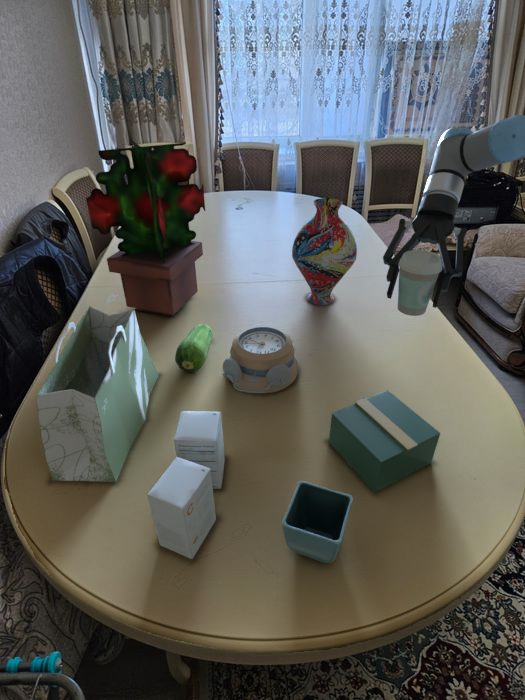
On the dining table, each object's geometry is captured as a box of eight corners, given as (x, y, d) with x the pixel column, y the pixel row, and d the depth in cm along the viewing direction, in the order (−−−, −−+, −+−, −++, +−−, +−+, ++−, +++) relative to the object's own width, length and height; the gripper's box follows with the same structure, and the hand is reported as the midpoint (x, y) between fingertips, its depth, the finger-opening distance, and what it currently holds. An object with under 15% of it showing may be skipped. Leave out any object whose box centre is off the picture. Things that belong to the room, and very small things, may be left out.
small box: (185, 506, 78) (176, 454, 71) (217, 519, 76) (211, 467, 68) (158, 546, 72) (145, 494, 64) (192, 561, 70) (183, 509, 62)
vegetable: (176, 347, 103) (200, 306, 120) (166, 368, 107) (190, 326, 124) (205, 361, 104) (224, 319, 121) (194, 382, 108) (214, 338, 125)
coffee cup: (413, 323, 92) (424, 269, 85) (382, 306, 98) (391, 254, 91) (440, 311, 95) (453, 259, 89) (409, 296, 101) (419, 245, 94)
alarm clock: (303, 324, 110) (288, 382, 91) (301, 355, 115) (287, 415, 97) (236, 317, 113) (208, 372, 94) (237, 347, 118) (211, 405, 100)
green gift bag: (123, 482, 82) (95, 383, 69) (49, 480, 83) (7, 382, 70) (161, 375, 109) (146, 289, 95) (104, 374, 109) (82, 288, 96)
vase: (293, 314, 132) (297, 213, 115) (288, 285, 148) (290, 193, 131) (356, 313, 133) (369, 212, 116) (345, 284, 148) (355, 192, 131)
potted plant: (151, 283, 150) (127, 137, 124) (211, 293, 144) (199, 141, 118) (112, 315, 133) (75, 152, 107) (179, 328, 126) (156, 158, 101)
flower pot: (297, 513, 77) (299, 478, 72) (348, 530, 74) (354, 495, 69) (280, 559, 70) (280, 524, 65) (335, 579, 67) (340, 544, 62)
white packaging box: (187, 458, 87) (180, 409, 80) (225, 459, 87) (222, 410, 80) (180, 489, 81) (172, 439, 74) (221, 490, 81) (217, 440, 73)
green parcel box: (432, 463, 85) (441, 432, 81) (375, 493, 80) (382, 462, 75) (381, 418, 96) (387, 388, 91) (327, 441, 90) (331, 411, 86)
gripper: (492, 216, 94) (464, 317, 91) (390, 204, 102) (362, 296, 99) (497, 197, 87) (468, 305, 84) (388, 185, 95) (358, 284, 92)
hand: (411, 300), depth 92 cm, fingers closed on coffee cup, 8 cm apart
